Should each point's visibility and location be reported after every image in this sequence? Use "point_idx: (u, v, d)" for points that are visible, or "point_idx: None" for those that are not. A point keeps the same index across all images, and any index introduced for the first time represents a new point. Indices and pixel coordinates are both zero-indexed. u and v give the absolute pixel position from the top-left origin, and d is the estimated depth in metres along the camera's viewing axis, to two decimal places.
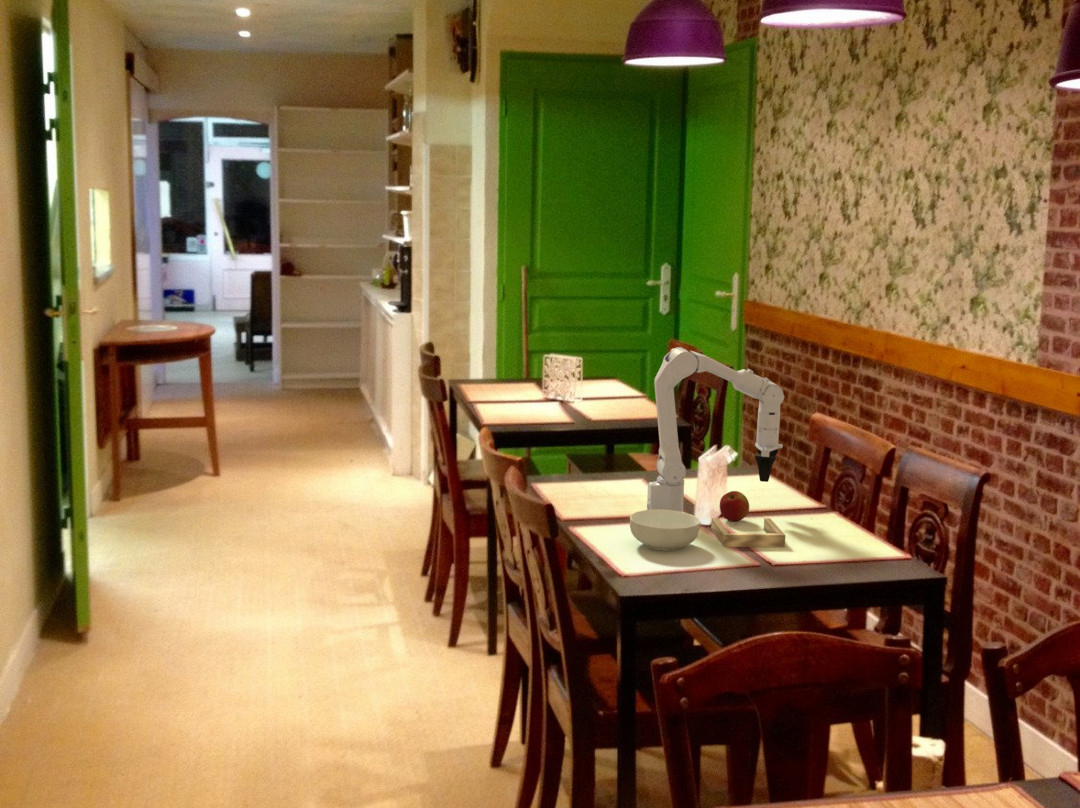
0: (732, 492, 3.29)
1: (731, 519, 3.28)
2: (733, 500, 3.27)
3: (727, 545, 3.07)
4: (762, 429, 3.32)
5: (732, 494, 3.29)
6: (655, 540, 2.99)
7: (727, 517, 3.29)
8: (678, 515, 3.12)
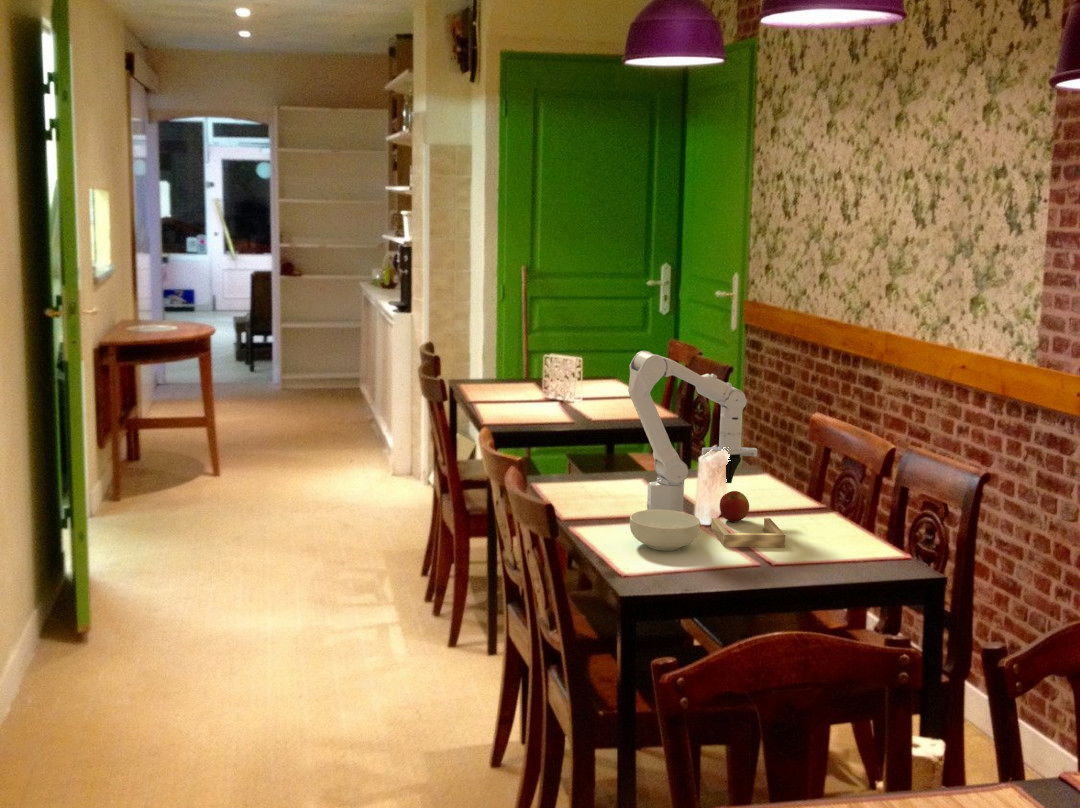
0: (732, 492, 3.29)
1: (731, 519, 3.28)
2: (733, 500, 3.27)
3: (727, 545, 3.07)
4: None
5: (732, 494, 3.29)
6: (655, 540, 2.99)
7: (727, 517, 3.29)
8: (678, 515, 3.12)
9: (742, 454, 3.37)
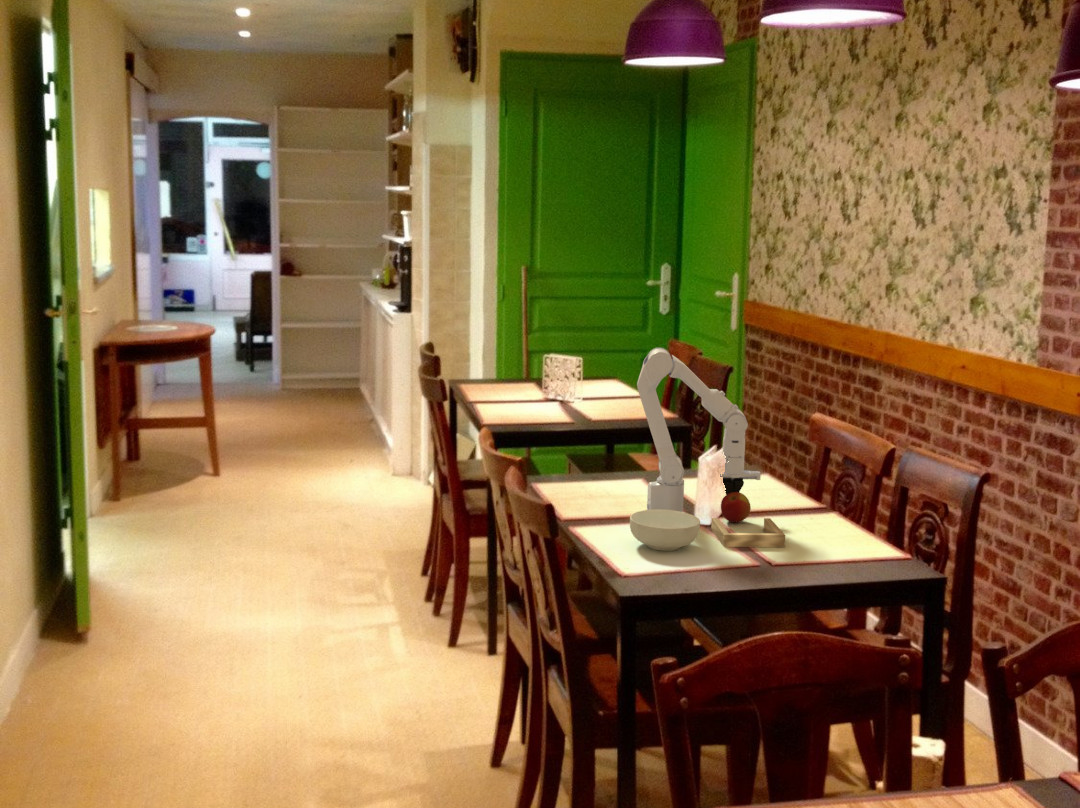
0: (733, 493, 3.28)
1: (732, 520, 3.27)
2: (734, 501, 3.26)
3: (727, 545, 3.07)
4: None
5: (733, 495, 3.28)
6: (655, 540, 2.99)
7: (728, 518, 3.27)
8: (678, 515, 3.12)
9: (745, 477, 3.33)
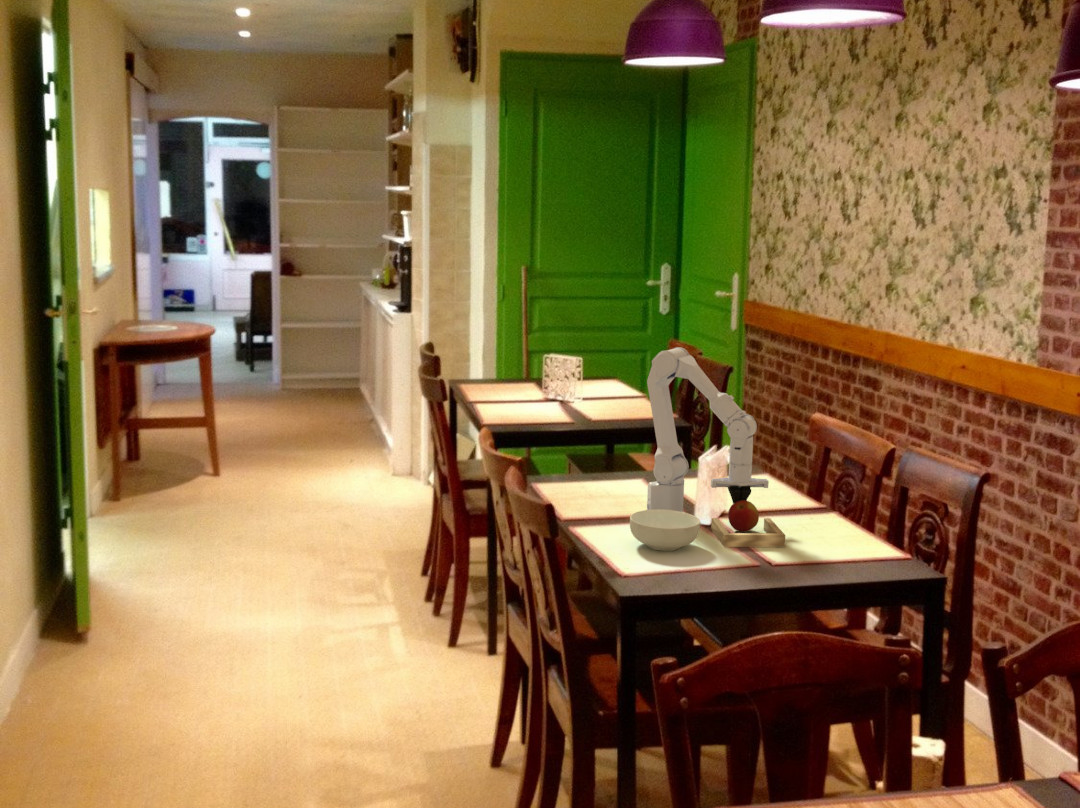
0: (741, 501, 3.20)
1: (740, 529, 3.19)
2: (742, 510, 3.17)
3: (727, 545, 3.07)
4: None
5: (741, 503, 3.19)
6: (655, 540, 2.99)
7: (736, 527, 3.19)
8: (678, 515, 3.12)
9: (752, 485, 3.25)
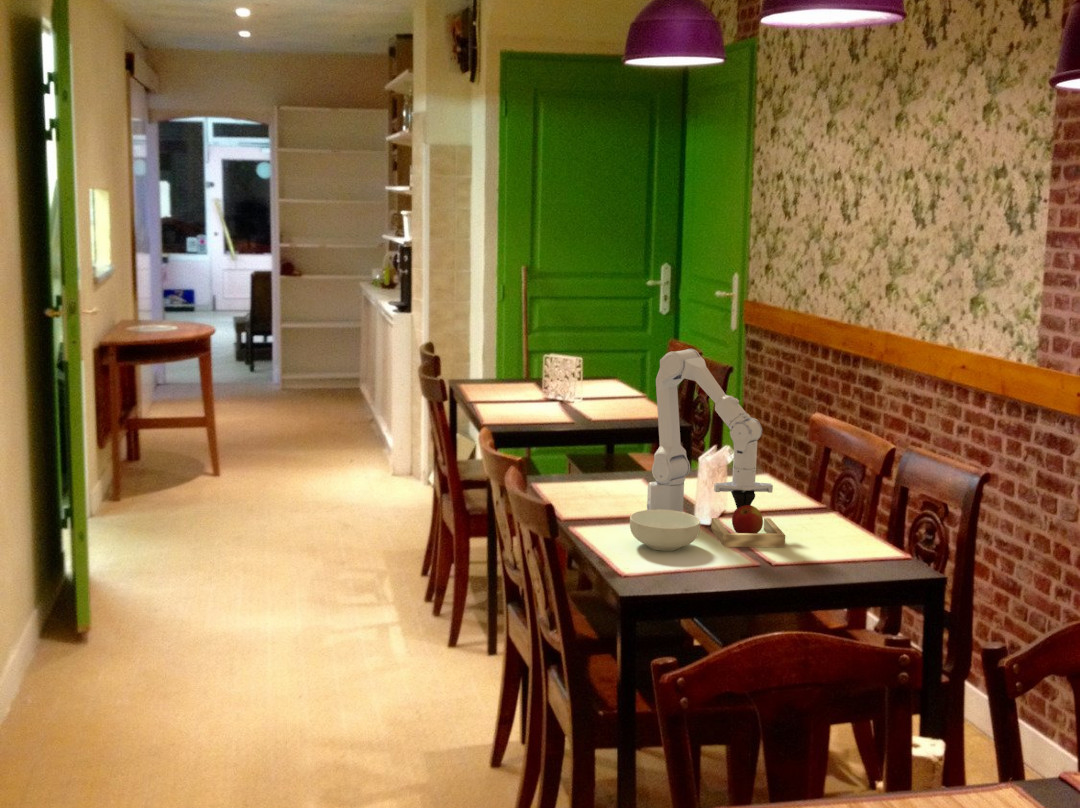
0: (745, 506, 3.15)
1: None
2: (746, 515, 3.13)
3: (727, 545, 3.07)
4: None
5: (745, 508, 3.15)
6: (655, 540, 2.99)
7: (740, 532, 3.14)
8: (678, 515, 3.12)
9: (756, 490, 3.20)
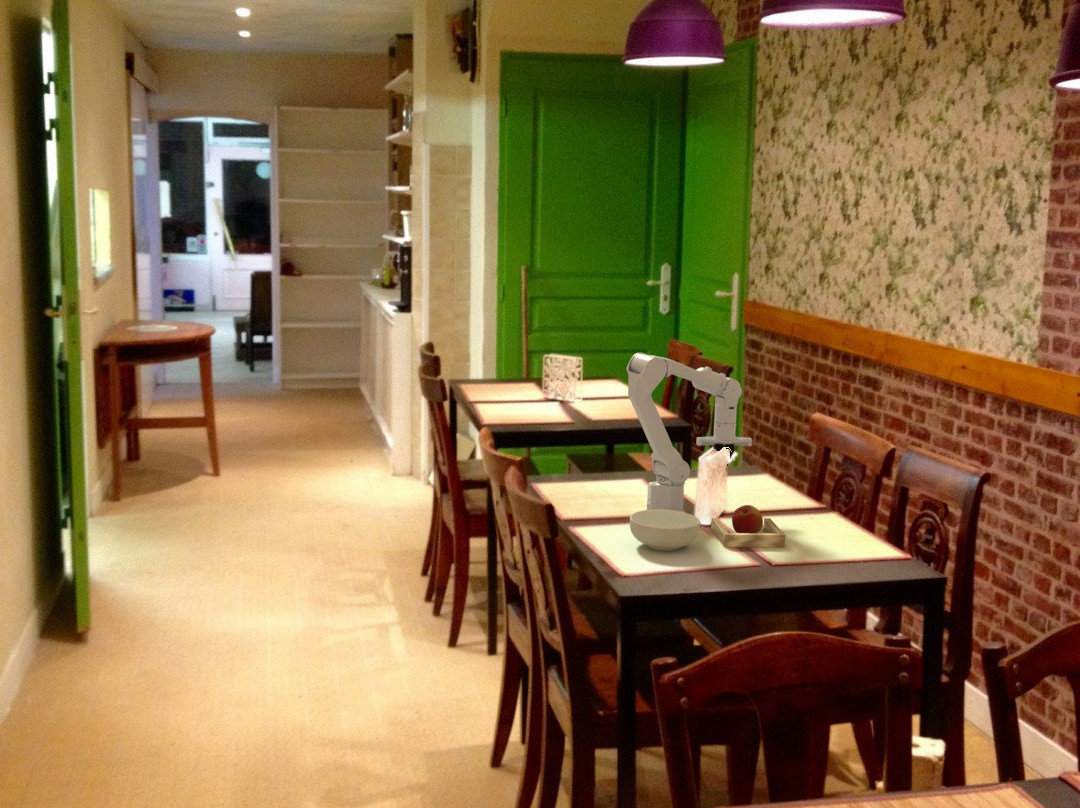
0: (745, 506, 3.15)
1: None
2: (746, 515, 3.13)
3: (727, 545, 3.07)
4: None
5: (745, 508, 3.15)
6: (655, 540, 2.99)
7: (740, 532, 3.14)
8: (678, 515, 3.12)
9: (736, 444, 3.39)
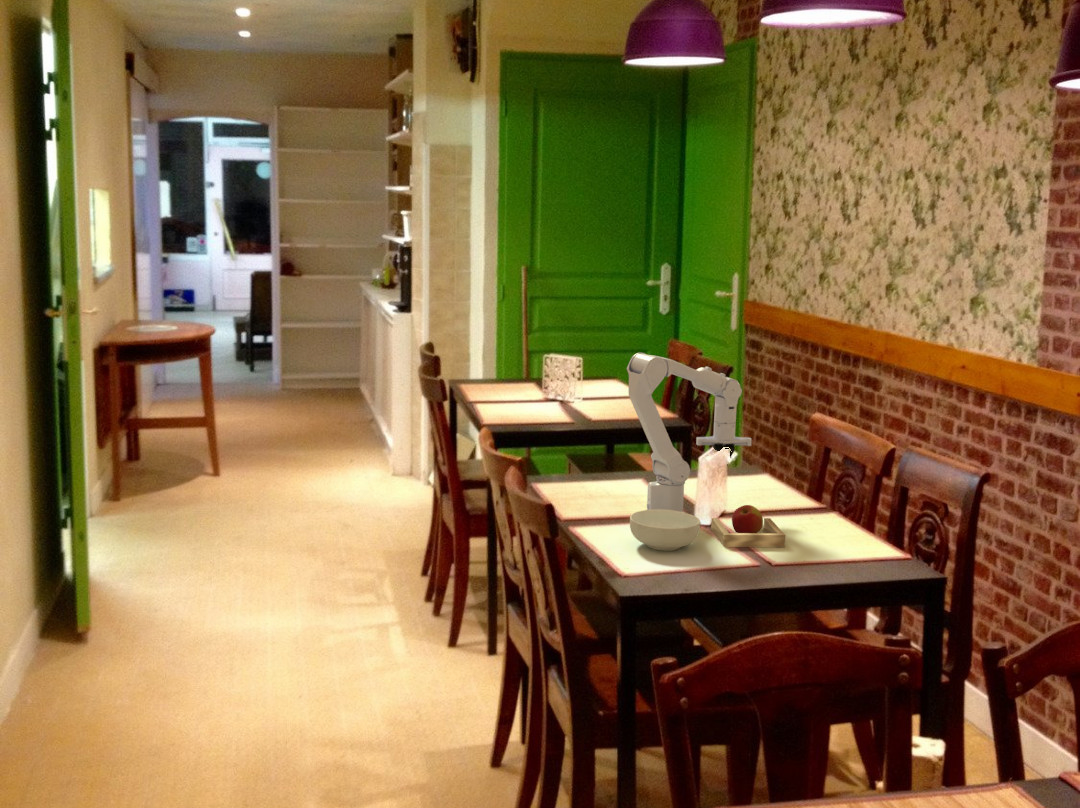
0: (745, 506, 3.15)
1: None
2: (746, 515, 3.13)
3: (727, 545, 3.07)
4: None
5: (745, 508, 3.15)
6: (655, 540, 2.99)
7: (740, 532, 3.14)
8: (678, 515, 3.12)
9: (736, 444, 3.39)
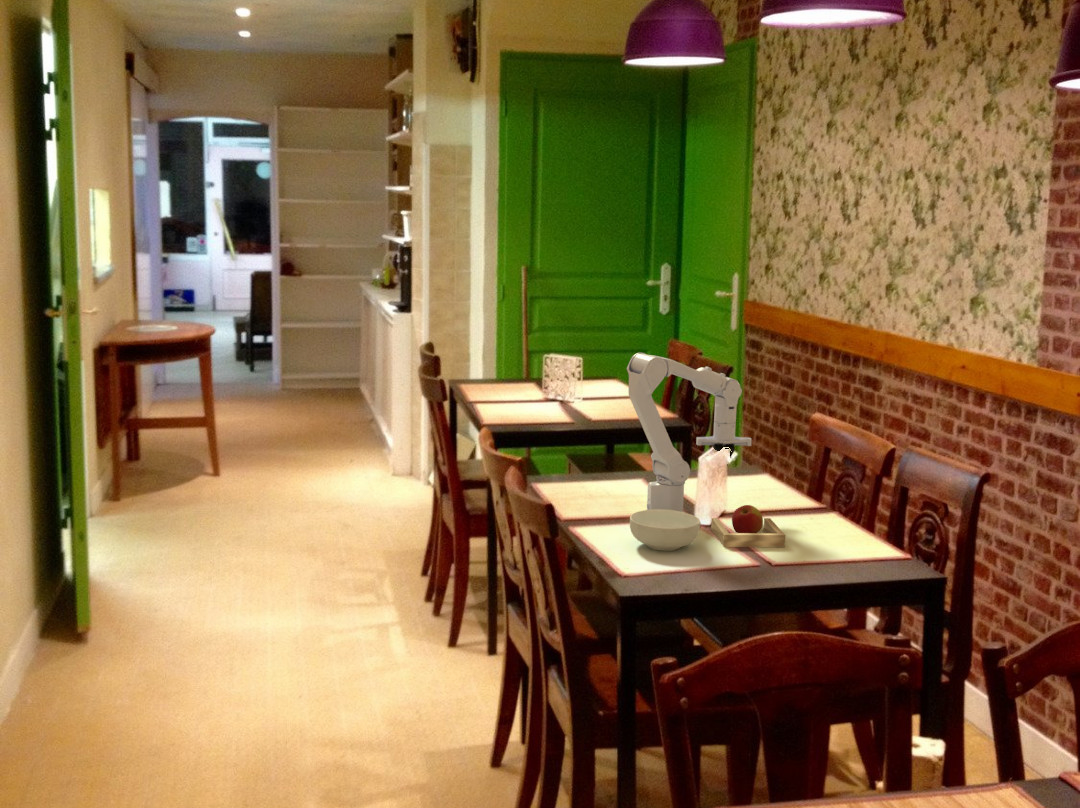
0: (745, 506, 3.15)
1: None
2: (746, 515, 3.13)
3: (727, 545, 3.07)
4: None
5: (745, 508, 3.15)
6: (655, 540, 2.99)
7: (740, 532, 3.14)
8: (678, 515, 3.12)
9: (736, 444, 3.39)
